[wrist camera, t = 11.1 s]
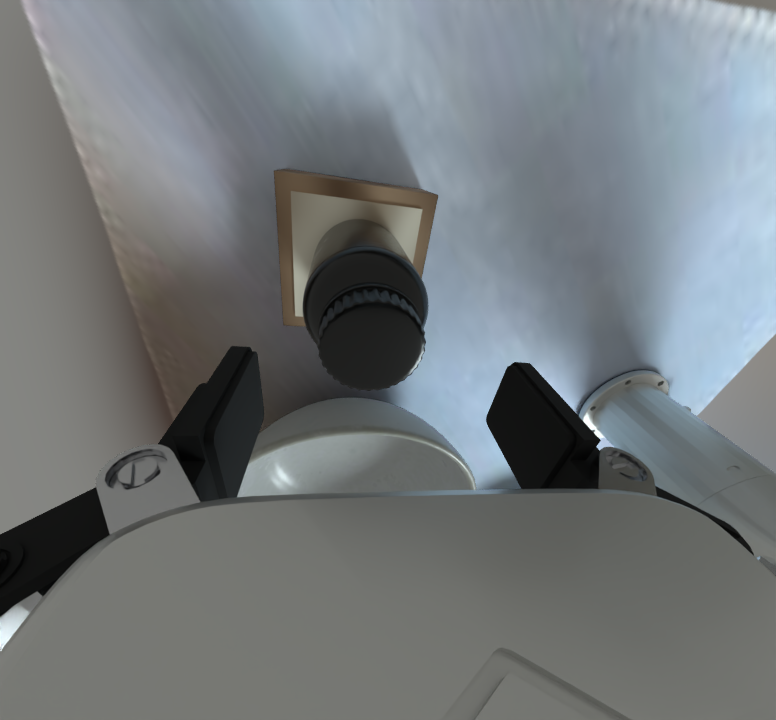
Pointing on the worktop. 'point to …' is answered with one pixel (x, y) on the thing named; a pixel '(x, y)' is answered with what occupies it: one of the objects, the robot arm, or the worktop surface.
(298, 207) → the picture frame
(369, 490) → the decorative bowl
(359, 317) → the supplement bottle
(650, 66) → the worktop surface
